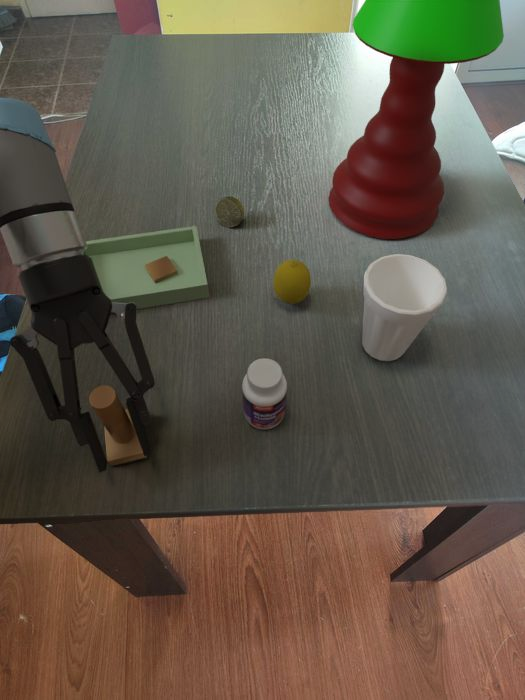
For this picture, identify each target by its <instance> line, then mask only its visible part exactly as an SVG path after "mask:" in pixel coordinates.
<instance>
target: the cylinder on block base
mask: <svg viewBox="0 0 525 700" xmlns="http://www.w3.org/2000/svg"><path fill="white" fill-rule="evenodd" d="M88 402H89V404H90V407H92V409H93V411H94V412H95V414H96V415H97V417H98V418H99V420H100V422H101V423H102V425H103V427H104V439H105V441H104V442H105V451H106V453H105V455H106V459H107V464H108V465H109V466H110V467H112V466H113V467H119V466H123V465H127V464H131V463H134V462H135V463H136V462H139V461H144V460H146V459H147V458H148V455H147V456H144V454H143V451H142V448H141V445H140V442H139V440H138V437H137V434H136V431H135V428H134V426H133V423H132V420H131V417H130V414H129V411H128V409H127V408H126V409H125V407H124V405H123V403H122V401H121V400H120V397H119V396H118V394H117V392H116V390H115V388H114V387H112V386H110V385H105V384H104V385H99V386H98V387H95V388H94V389H93V390H92V391H91V392H90V394H89V396H88Z"/></svg>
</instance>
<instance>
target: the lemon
mask: <svg viewBox="0 0 525 700" xmlns="http://www.w3.org/2000/svg"><path fill="white" fill-rule="evenodd" d="M272 285H273V291H274V293H275V295H276V297H277V298H278V299H279V300H280V301H281V302H283V303H286V304H290V305H294V304H298V303H300V302H302V301H303V300H305V299H306V297H307V296H308V295H309V292H310V290H311V285H312V279H311V272H310V270H309V268H308V267H307V265H306V264H305V263H303V262H302V261H300V260H298V259H288V260H284V261H283V262H281V263H280V264H279V265H278V266H277V269H276V270H275V272H274V275H273V281H272Z"/></svg>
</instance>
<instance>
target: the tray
mask: <svg viewBox="0 0 525 700" xmlns="http://www.w3.org/2000/svg"><path fill="white" fill-rule="evenodd" d="M85 241H86V244H87V249H86V250H85V251H84V252H83V253H84V254H85V255H88V256H89V257H91V258H92V261H93V264H94V267H95V270H96V272H97V275H98V278H99V281H100V284H101V287H102V289H103V292H104V293H105V295H106V296H107V297H108V298H110V300H111V301H112V302H116V303H129V302H133V303H135V304H136V306H137V310H139V309H146V308H147V309H148V308H153V307H159V306H165V305H171V304H177V303H185V302H190V301H191V302H192V301H196V300H197V301H198V300H203V299H209V298H210V289H209V284H208V278H207V274H206V268H205V264H204V258H203V252H202V248H201V243H200V238H199V232H198V227H197V225H192V226H184V227H177V228H170V229H163V230H157V231H149V232H142V233H141V232H140V233H135V234H128V235H120V236H115V237H114V236H113V237H106V238H100V239H92V240H85ZM165 256H167V257H168V258H169V260H170V261H171V262H172V264H173V265H174V267H175V268H176V269H177V271H178V274H176V275H174V276H172V277H169V278H167V279H165V280H162V281H160V282H158V283H155V282H154V281H153V279H152V278H151V276H150V275H149V273H148V272H147V270H146V269H145V266H144V265H145V264H148V263H150V262H153V261H155V260H158V259H160V258H163V257H165ZM111 314H116V313H115V312H112V311H111Z"/></svg>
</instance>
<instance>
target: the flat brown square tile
mask: <svg viewBox="0 0 525 700" xmlns="http://www.w3.org/2000/svg"><path fill="white" fill-rule="evenodd" d="M144 266H145V269H146V270H147V272H148V273H149V275H150V276H151V278H152V279H153V281H154V282H155V283H158V282H160V281H162V280H165V279H167V278H169V277H172V276H174V275H176V274H178V271H177V269H176V268H175V267H174V265H173V264H172V262H171V261H170V260H169V258H168V257H167V256H165V257H163V258H160V259H158V260H155V261H153V262H150V263H148V264H145V265H144Z"/></svg>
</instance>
